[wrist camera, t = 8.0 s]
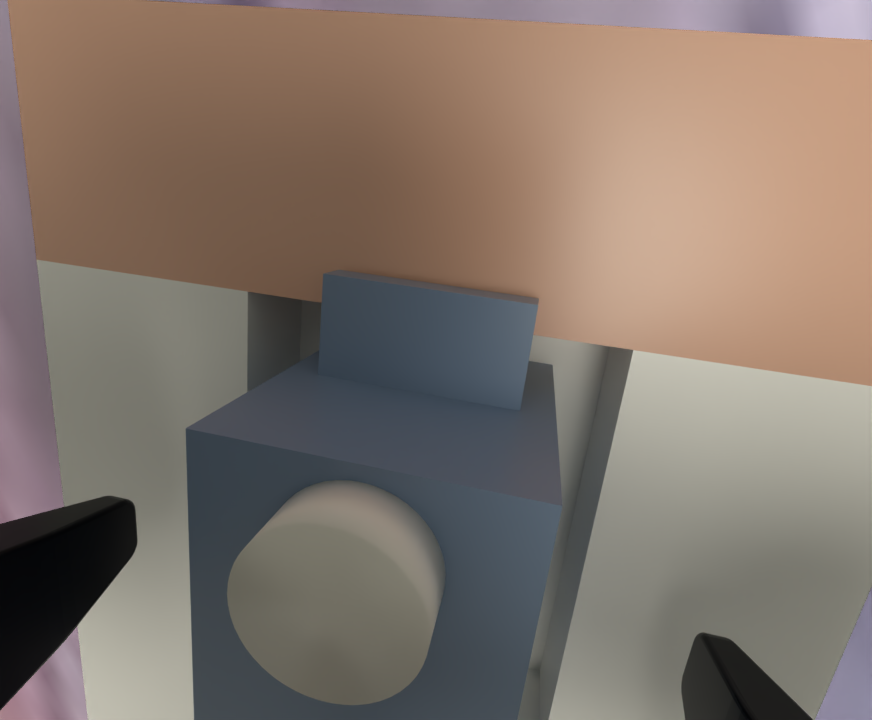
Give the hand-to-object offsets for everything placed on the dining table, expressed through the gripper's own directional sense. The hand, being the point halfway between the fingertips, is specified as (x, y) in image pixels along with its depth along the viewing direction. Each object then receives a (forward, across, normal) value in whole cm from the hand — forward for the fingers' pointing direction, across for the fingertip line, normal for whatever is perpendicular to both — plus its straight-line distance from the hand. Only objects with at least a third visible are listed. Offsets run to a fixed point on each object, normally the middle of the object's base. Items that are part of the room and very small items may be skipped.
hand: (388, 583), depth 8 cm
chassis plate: (+4, 0, 0) cm, 4 cm away
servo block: (+3, 0, 0) cm, 3 cm away
